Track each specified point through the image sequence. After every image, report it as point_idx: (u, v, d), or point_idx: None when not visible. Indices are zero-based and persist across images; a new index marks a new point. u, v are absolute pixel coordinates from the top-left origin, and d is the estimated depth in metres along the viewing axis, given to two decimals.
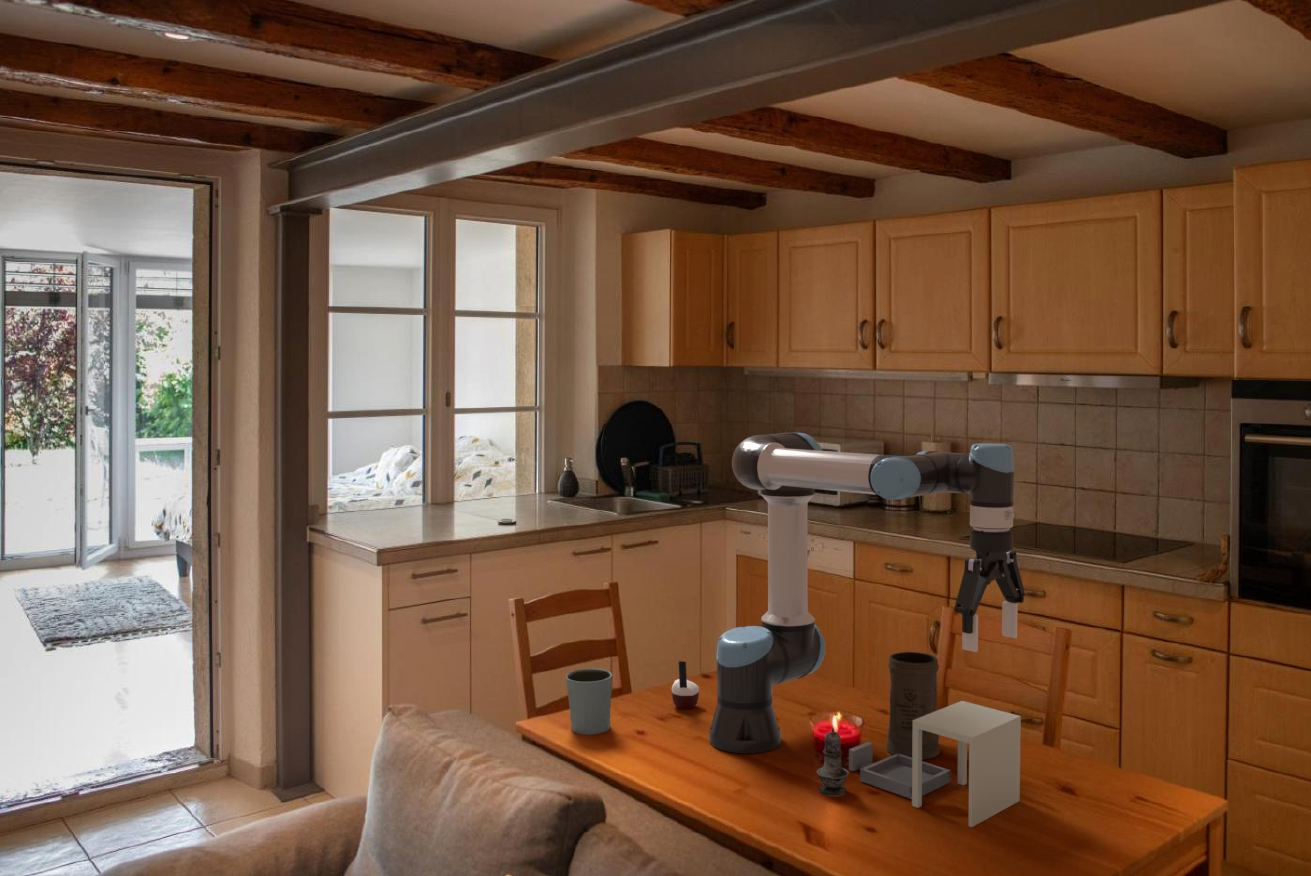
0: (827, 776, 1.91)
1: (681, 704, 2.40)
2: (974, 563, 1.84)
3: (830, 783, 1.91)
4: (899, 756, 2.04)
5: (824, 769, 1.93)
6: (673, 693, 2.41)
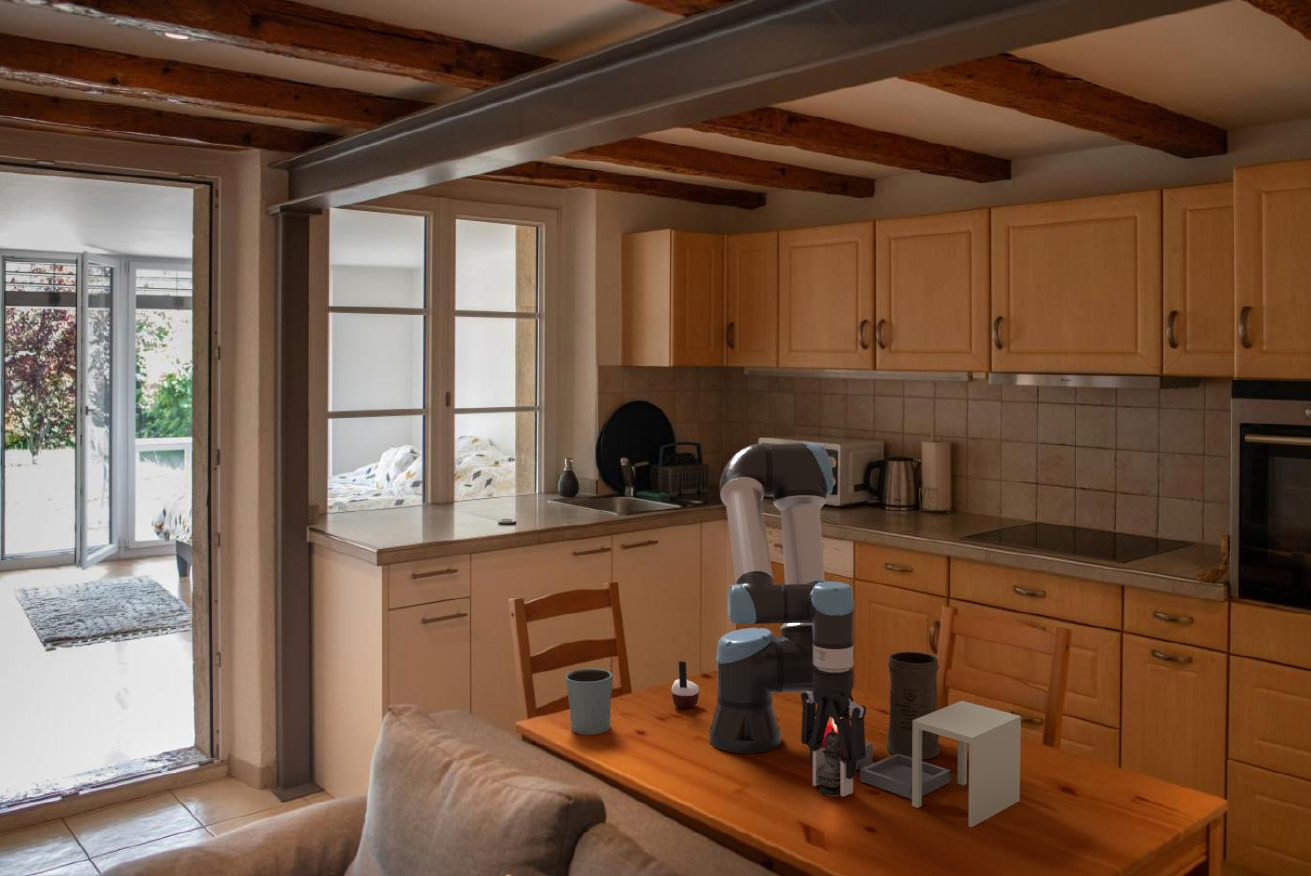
0: (827, 776, 1.91)
1: (681, 704, 2.40)
2: None
3: (830, 783, 1.91)
4: (899, 756, 2.04)
5: (824, 769, 1.93)
6: (673, 693, 2.41)
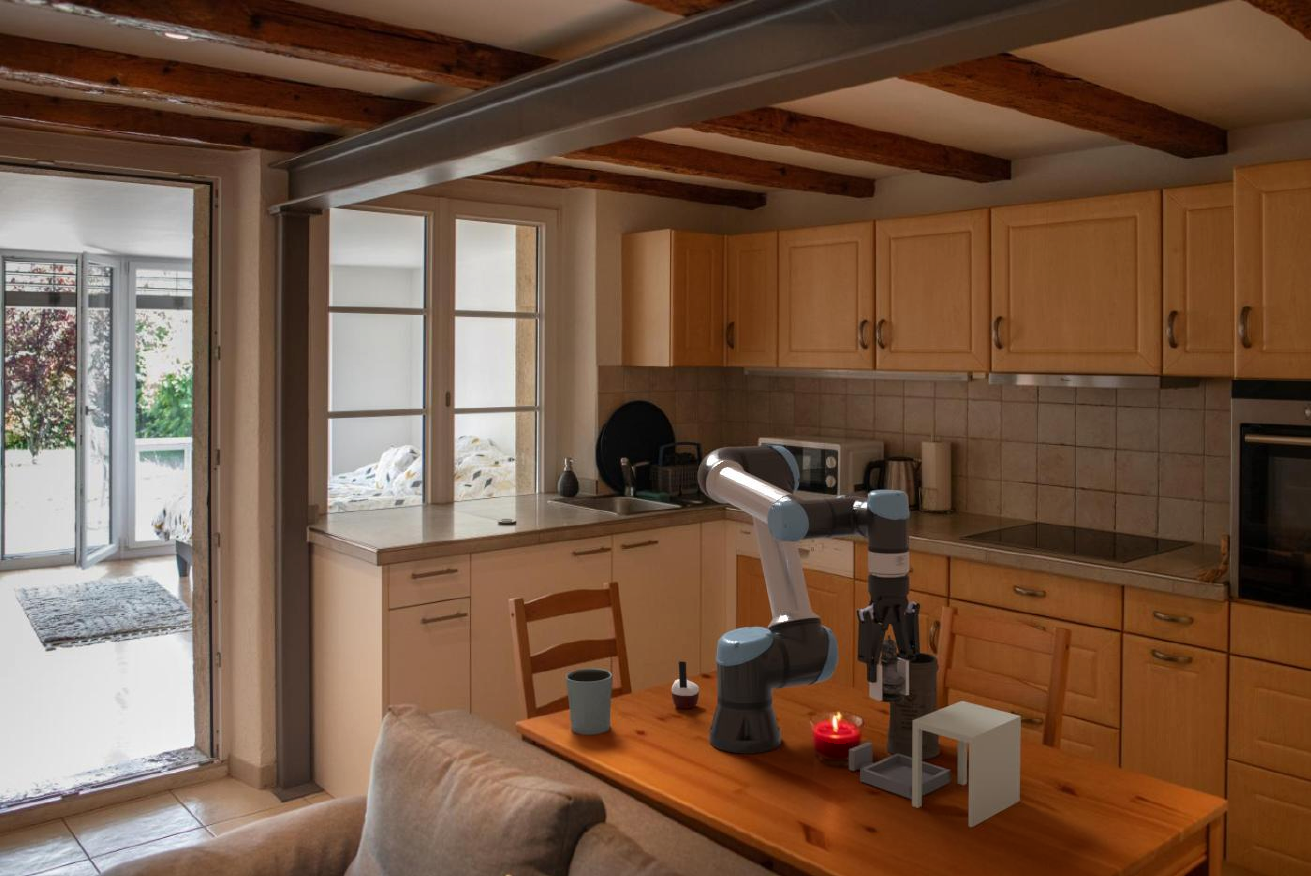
0: (901, 681, 1.93)
1: (681, 704, 2.40)
2: (863, 615, 1.90)
3: (902, 687, 1.93)
4: (899, 756, 2.04)
5: (892, 677, 1.93)
6: (673, 693, 2.41)
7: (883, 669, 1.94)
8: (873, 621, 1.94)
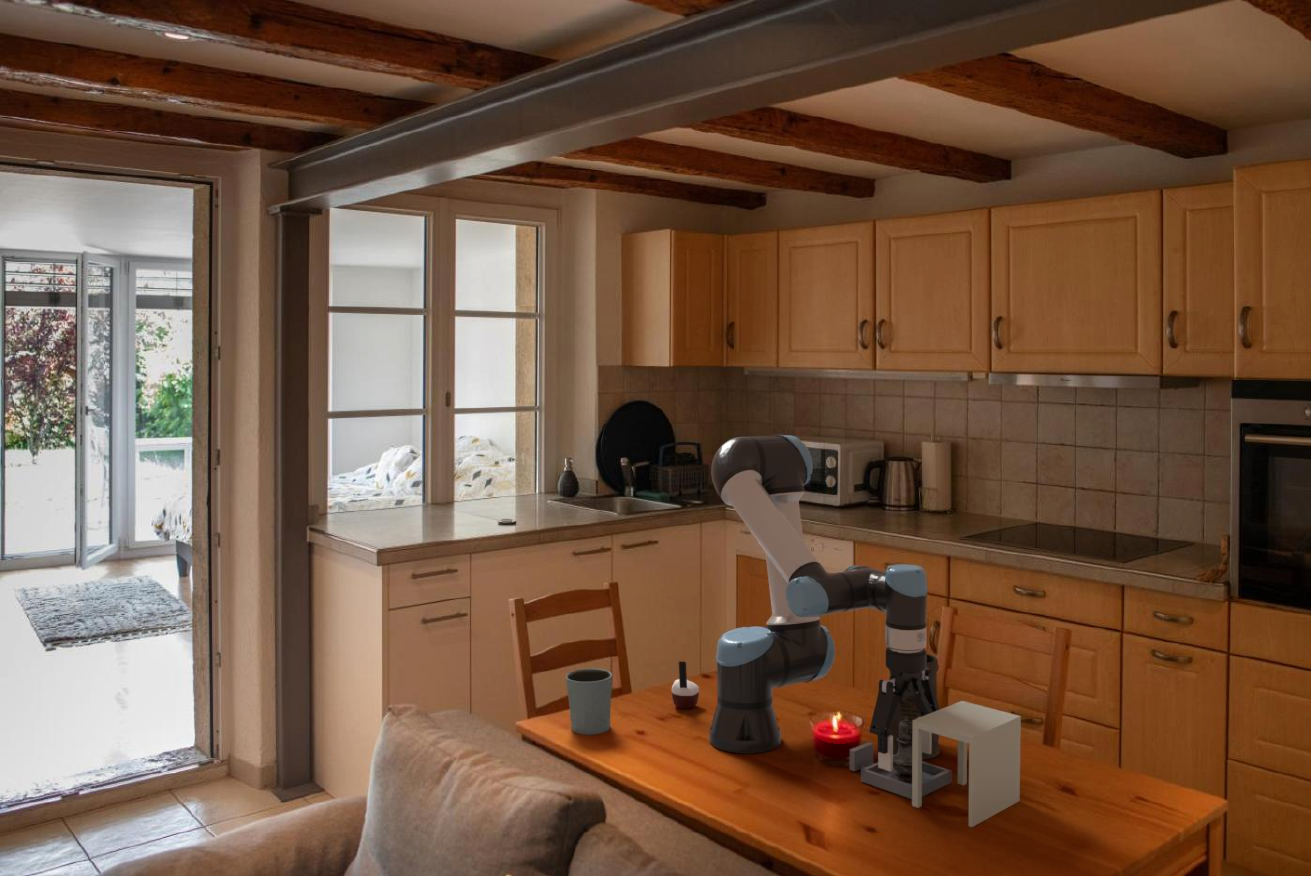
0: None
1: (681, 704, 2.40)
2: (887, 685, 1.91)
3: None
4: None
5: (911, 758, 1.95)
6: (673, 693, 2.41)
7: (902, 750, 1.96)
8: None
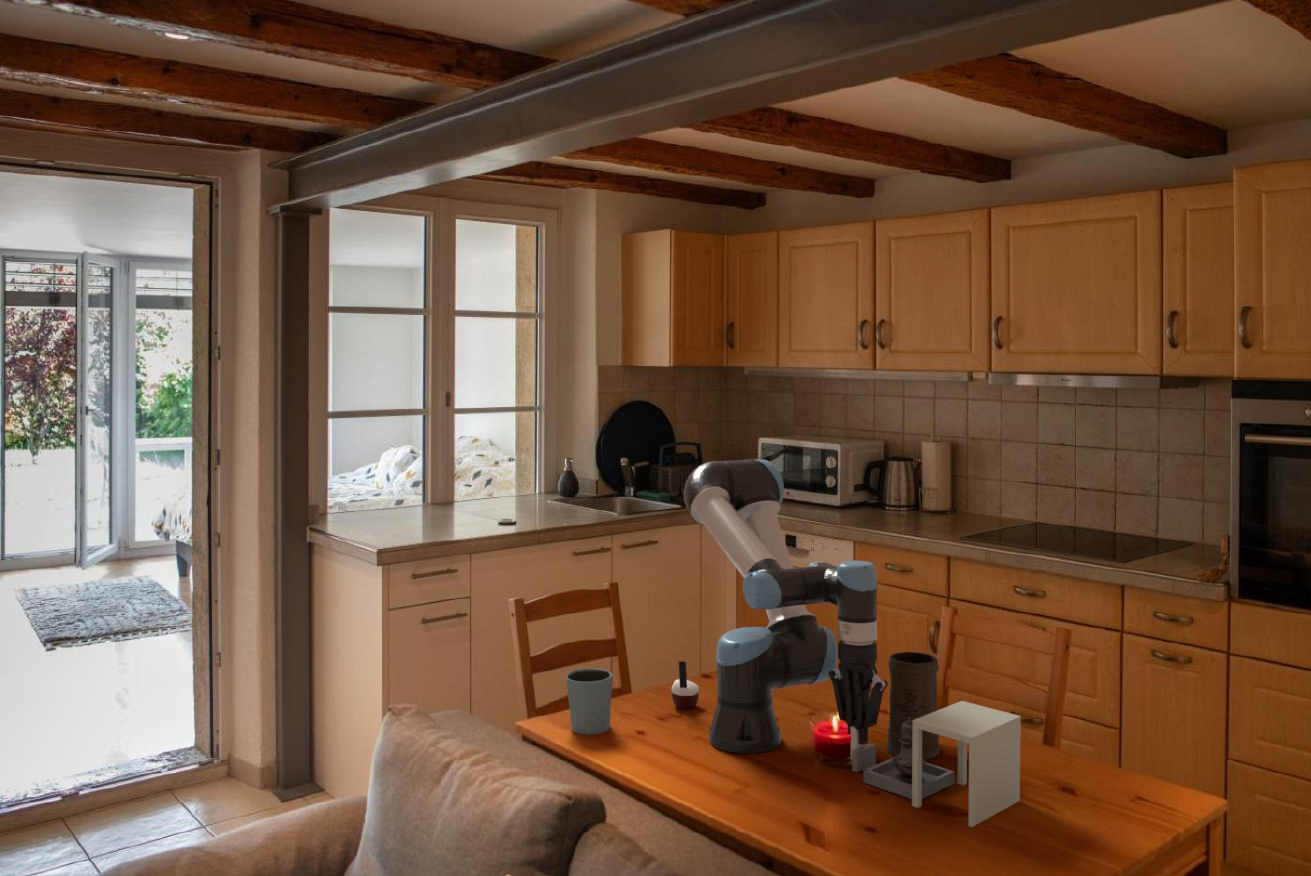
0: (923, 762, 1.95)
1: (681, 704, 2.40)
2: None
3: (922, 768, 1.96)
4: None
5: None
6: (673, 693, 2.41)
7: (905, 751, 1.95)
8: None
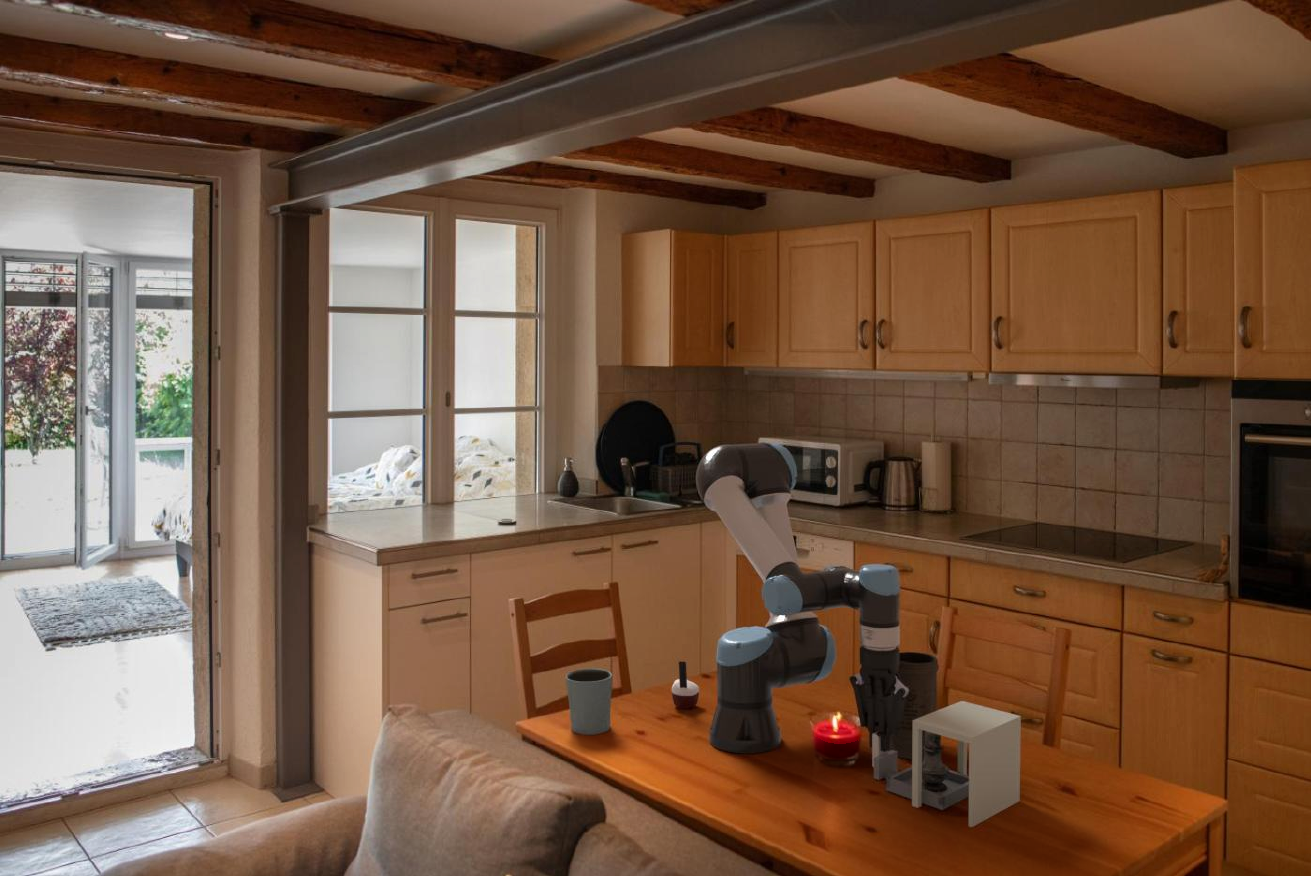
0: (947, 770, 1.91)
1: (681, 704, 2.40)
2: None
3: (946, 776, 1.92)
4: None
5: (938, 767, 1.91)
6: (673, 693, 2.41)
7: (928, 758, 1.91)
8: None
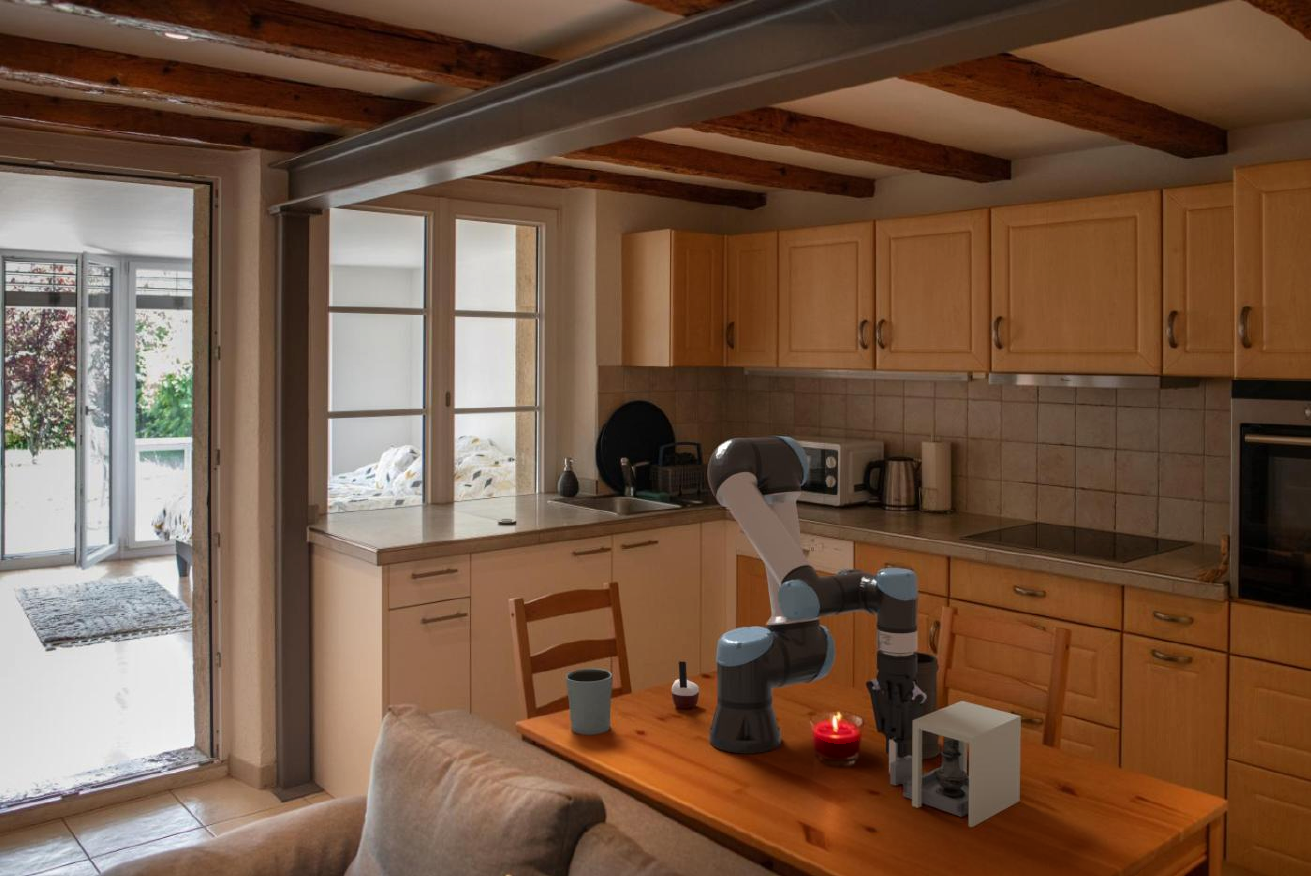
0: (965, 775, 1.88)
1: (681, 704, 2.40)
2: None
3: (964, 782, 1.89)
4: None
5: (956, 772, 1.88)
6: (673, 693, 2.41)
7: (946, 764, 1.89)
8: None
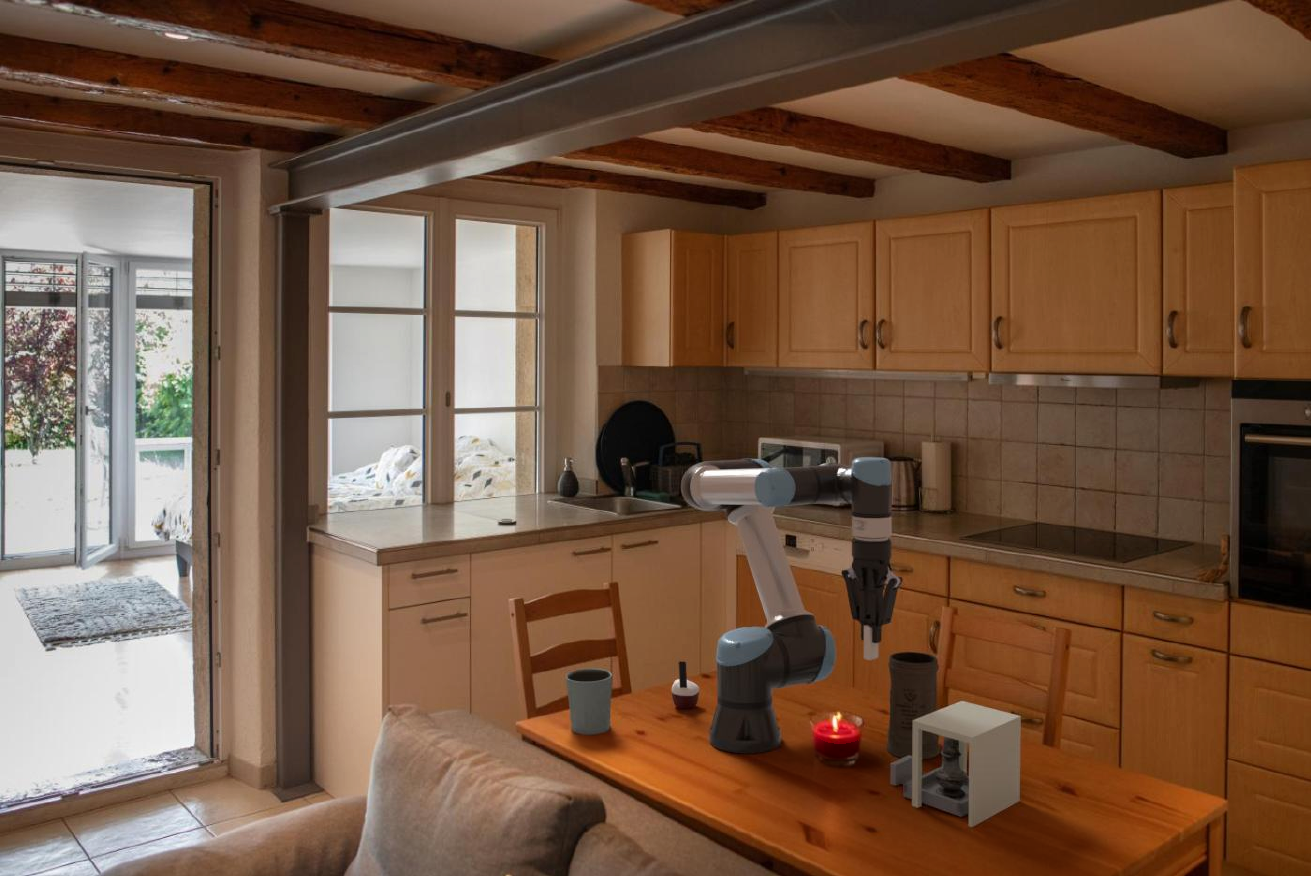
0: (965, 775, 1.88)
1: (681, 704, 2.40)
2: None
3: (964, 782, 1.89)
4: None
5: (956, 773, 1.88)
6: (673, 693, 2.41)
7: (946, 764, 1.89)
8: None
